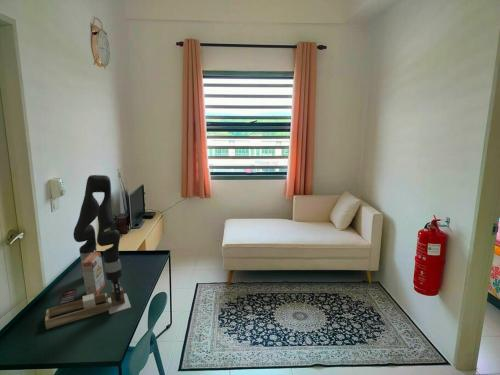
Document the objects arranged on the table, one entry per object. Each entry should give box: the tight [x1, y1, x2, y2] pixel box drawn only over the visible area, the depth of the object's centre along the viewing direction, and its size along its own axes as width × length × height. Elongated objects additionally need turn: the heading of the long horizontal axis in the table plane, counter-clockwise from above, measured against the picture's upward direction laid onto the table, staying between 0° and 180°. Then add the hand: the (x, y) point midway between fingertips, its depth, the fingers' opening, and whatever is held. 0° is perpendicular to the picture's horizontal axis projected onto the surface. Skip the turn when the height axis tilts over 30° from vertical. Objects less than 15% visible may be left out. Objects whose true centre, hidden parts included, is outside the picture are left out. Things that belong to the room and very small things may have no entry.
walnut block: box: [109, 286, 125, 306], centre depth 160 cm, size 6×5×7 cm
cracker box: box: [81, 251, 106, 296], centre depth 172 cm, size 14×6×21 cm, turn 8°
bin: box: [44, 292, 110, 330], centre depth 153 cm, size 12×27×4 cm, turn 120°
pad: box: [108, 292, 132, 315], centre depth 160 cm, size 16×10×1 cm, turn 30°
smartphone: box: [58, 288, 78, 306], centre depth 170 cm, size 7×1×15 cm
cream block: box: [82, 293, 97, 309], centre depth 155 cm, size 6×5×7 cm
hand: (117, 297), depth 160 cm, fingers open, 8 cm apart
